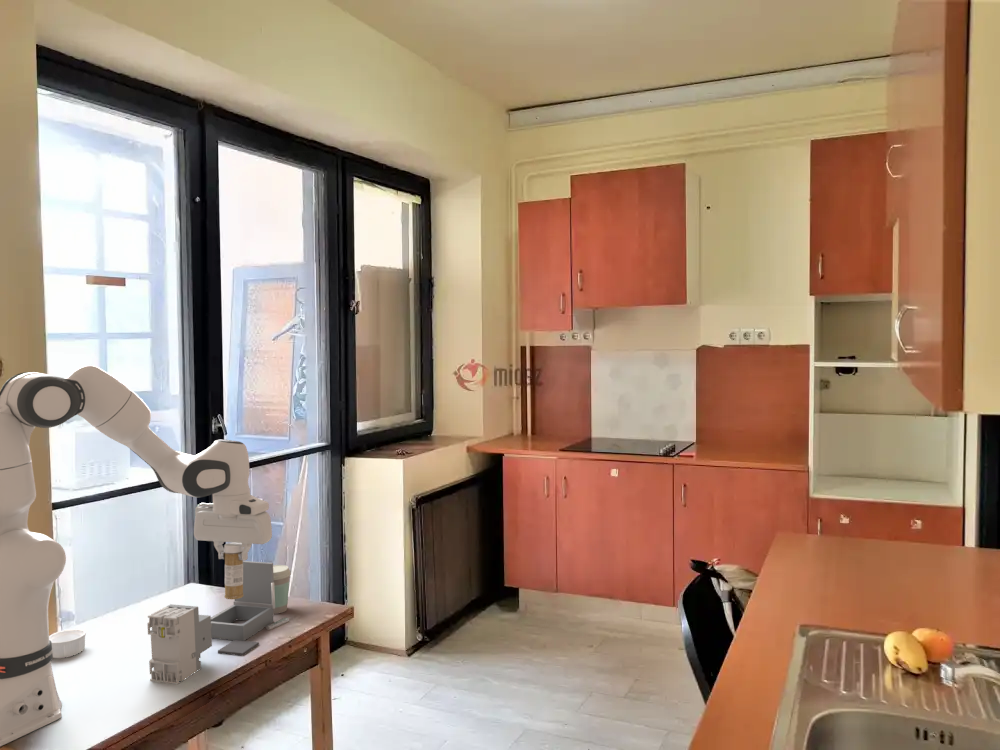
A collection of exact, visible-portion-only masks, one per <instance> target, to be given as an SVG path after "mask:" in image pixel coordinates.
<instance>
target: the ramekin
mask: <svg viewBox="0 0 1000 750" xmlns="http://www.w3.org/2000/svg"><path fill="white" fill-rule="evenodd" d="M86 634H87V632H86V630H84V629H78V628H75V629H66V630H62V631H57V632H55V633H52V634H49V640H50V641H51V642H52V650H53V652H52V653H53V658H52V659H65V657H66V658H70V657H74V656H76V655H78V653H79V654H80V653H82V652H83V651H84V650H85V647H86V646H85V645H86ZM81 651H82V652H81ZM73 655H74V656H73Z"/></svg>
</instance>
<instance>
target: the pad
mask: <svg viewBox="0 0 1000 750" xmlns="http://www.w3.org/2000/svg"><path fill="white" fill-rule="evenodd" d="M259 644H260V642H259V641H250V640H245V641H242V640H231V642H229V643H227V644H226V645H224V646H222V648H220V649H218V650H217V653H218V654H222V653H227V654H226V655H232V654H235V655H234V656H242V655H243V656H245V655H246V654H248V653H249V652H250V651H251V649H252V650H254V649H255V648H256V647H257V646H259ZM254 647H255V648H254ZM245 653H246V654H245Z"/></svg>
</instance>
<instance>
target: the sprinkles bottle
mask: <svg viewBox="0 0 1000 750" xmlns="http://www.w3.org/2000/svg"><path fill="white" fill-rule="evenodd" d="M223 548H224V552H225V559H224V598H225V599H227V600H235V599H239V598H242V597H243V561H241V560H239V556H238V554H239V553H241V552H242V551H243V549H244V547H242V543H233V542H226V543H225V544H224V545H223Z"/></svg>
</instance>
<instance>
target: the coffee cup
mask: <svg viewBox="0 0 1000 750" xmlns="http://www.w3.org/2000/svg"><path fill="white" fill-rule="evenodd" d="M273 575H274V590H275V609H273V615H278V614H282V613H284V612H286V611H287V610H288V603H289V602H288V601H289V588H290V578H291V575H292V573H291V570H290V568H289V566H288V565H285V564H275V565H274V564H273Z"/></svg>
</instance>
